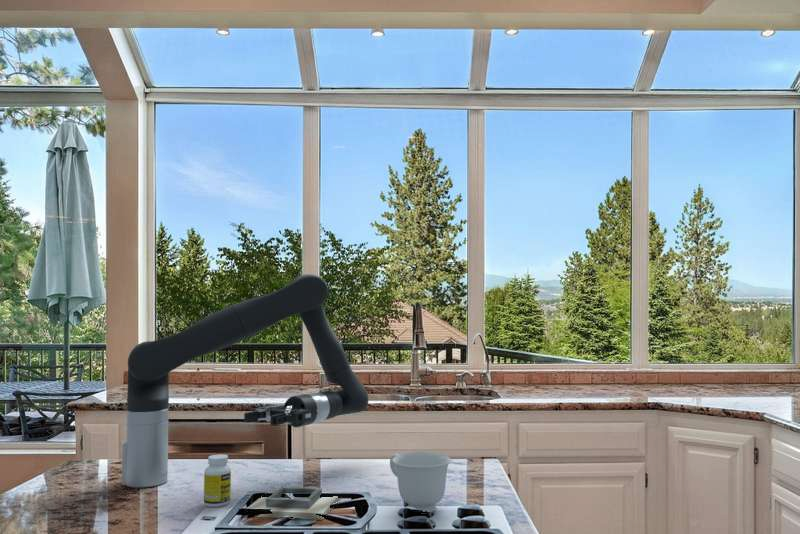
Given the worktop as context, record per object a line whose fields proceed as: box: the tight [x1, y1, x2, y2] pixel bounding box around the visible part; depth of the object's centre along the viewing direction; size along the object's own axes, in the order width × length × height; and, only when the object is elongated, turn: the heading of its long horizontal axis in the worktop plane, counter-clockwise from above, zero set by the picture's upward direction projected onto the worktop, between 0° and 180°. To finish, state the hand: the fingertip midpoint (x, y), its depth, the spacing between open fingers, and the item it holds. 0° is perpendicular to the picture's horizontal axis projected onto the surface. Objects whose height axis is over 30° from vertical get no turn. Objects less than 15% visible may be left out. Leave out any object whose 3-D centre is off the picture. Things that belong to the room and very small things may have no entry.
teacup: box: [389, 451, 452, 513], centre depth 129 cm, size 12×15×10 cm
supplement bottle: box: [203, 453, 232, 508], centre depth 133 cm, size 5×5×10 cm
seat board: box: [246, 486, 341, 521], centre depth 130 cm, size 16×14×3 cm
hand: (258, 419), depth 143 cm, fingers open, 8 cm apart
